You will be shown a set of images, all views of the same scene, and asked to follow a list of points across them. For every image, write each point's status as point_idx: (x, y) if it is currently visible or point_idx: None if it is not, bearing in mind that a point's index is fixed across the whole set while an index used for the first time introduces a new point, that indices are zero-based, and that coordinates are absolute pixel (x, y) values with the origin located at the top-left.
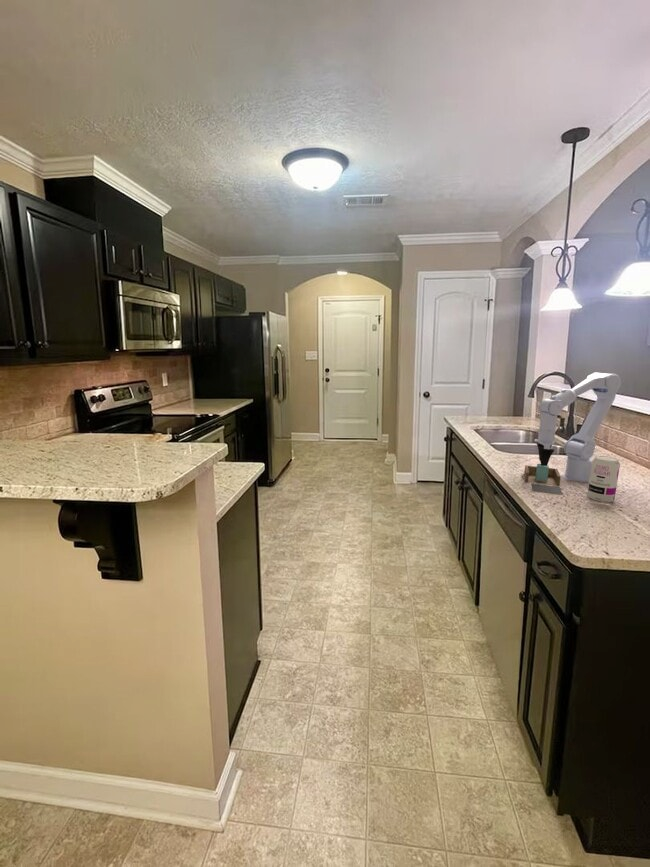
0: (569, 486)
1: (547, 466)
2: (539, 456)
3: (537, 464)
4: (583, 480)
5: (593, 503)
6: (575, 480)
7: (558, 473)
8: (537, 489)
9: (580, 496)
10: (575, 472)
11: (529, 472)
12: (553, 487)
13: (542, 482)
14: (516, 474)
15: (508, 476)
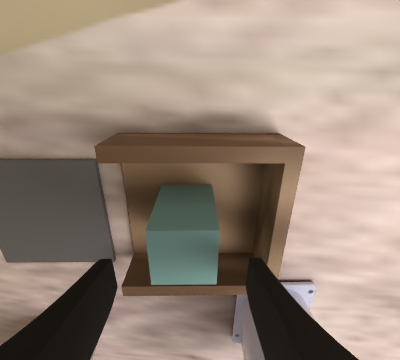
0: None
1: (170, 279)
2: (260, 282)
3: (196, 231)
4: (241, 327)
5: (3, 320)
6: (235, 309)
7: (179, 292)
8: (8, 182)
9: (53, 301)
10: (246, 339)
11: (268, 163)
12: (90, 241)
13: (143, 208)
14: (265, 90)
15: (198, 35)
